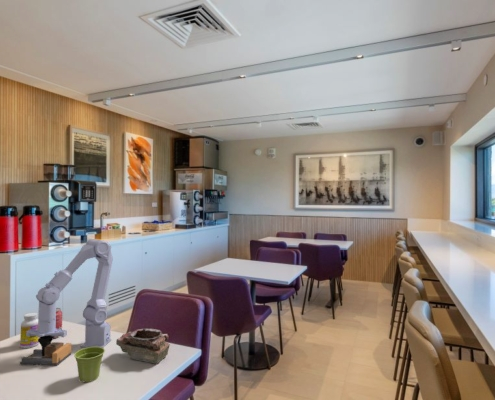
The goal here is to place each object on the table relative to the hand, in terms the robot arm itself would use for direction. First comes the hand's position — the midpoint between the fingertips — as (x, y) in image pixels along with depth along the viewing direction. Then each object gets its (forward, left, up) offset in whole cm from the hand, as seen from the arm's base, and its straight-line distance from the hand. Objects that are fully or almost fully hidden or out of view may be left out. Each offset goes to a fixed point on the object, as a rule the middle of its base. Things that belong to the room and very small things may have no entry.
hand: (46, 355), depth 123 cm
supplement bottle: (+15, -12, -2) cm, 19 cm away
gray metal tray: (0, 0, -2) cm, 2 cm away
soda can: (+11, -21, -2) cm, 24 cm away
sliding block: (-3, 0, -1) cm, 3 cm away
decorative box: (-35, -2, -2) cm, 35 cm away
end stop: (-6, 0, -2) cm, 6 cm away
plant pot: (-23, +12, -2) cm, 26 cm away
